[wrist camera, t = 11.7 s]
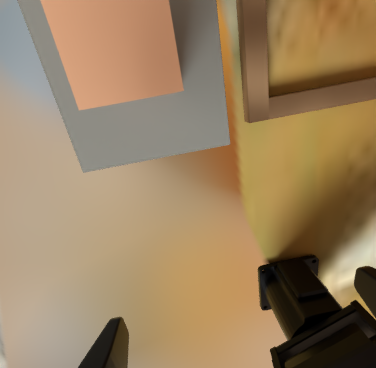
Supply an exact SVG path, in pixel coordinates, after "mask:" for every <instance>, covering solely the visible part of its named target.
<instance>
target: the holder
mask: <svg viewBox="0 0 376 368" xmlns="http://www.w3.org/2000/svg"><path fill="white" fill-rule="evenodd" d="M236 3H237V17H238V32H239V46H240V61H241V75H242V90H243V104H244V119H245V122H248V123H252V122H258V121H263V120H268V119H273V118H279V117H284V116H289V115H294V114H300V113H305V112H310V111H315V110H320V109H326V108H331V107H336V106H341V105H347V104H352V103H357V102H362V101H368V100H373V99H376V77H371V78H366V79H361V80H355V81H350V82H345V83H340V84H334V85H329V86H324V87H318V88H313V89H308V90H303V91H297V92H292V93H287V94H281V95H276V96H271V97H269V94H268V56H267V18H266V0H236Z"/></svg>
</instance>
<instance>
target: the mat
mask: <svg viewBox="0 0 376 368" xmlns="http://www.w3.org/2000/svg"><path fill="white" fill-rule="evenodd" d="M17 1H18V3H19V6H20V9H21V11H22V14H23V16H24V19H25V21H26V24H27V27H28V30H29V32H30V34H31V37H32V40H33V43H34V45H35V48H36V50H37V53H38V56H39V58H40V61H41V63H42V66H43V69H44V71H45V74H46V77H47V79H48V82H49V84H50V87H51V89H52V92H53V95H54V98H55V100H56V103H57V105H58V108H59V111H60V113H61V116H62V118H63V121H64V123H65V126H66V129H67V131H68V134H69V137H70V139H71V142H72V145H73V147H74V150H75V152H76V155H77V158H78V160H79V163H80V165H81V168H82V171H83V172H89V171H95V170H100V169H105V168H110V167H115V166H121V165H125V164H131V163H136V162H141V161H146V160H152V159H157V158H161V157H167V156H173V155H178V154H183V153H188V152H193V151H199V150H204V149H209V148H214V147H219V146H224V145H230V137H229V126H228V116H227V106H226V96H225V86H224V75H223V66H222V56H221V44H220V34H219V25H218V14H217V4H216V0H169V5H170V11H171V17H172V23H173V29H174V35H175V41H176V47H177V53H178V59H179V65H180V71H181V77H182V83H183V89H184V91H181V92H177V93H171V94H166V95H161V96H155V97H150V98H145V99H139V100H134V101H129V102H124V103H118V104H113V105H108V106H102V107H96V108H90V109H85V110H79V109H78V106H77V103H76V101H75V98H74V95H73V92H72V89H71V86H70V83H69V81H68V78H67V75H66V72H65V69H64V66H63V63H62V61H61V58H60V55H59V52H58V49H57V46H56V43H55V41H54V38H53V35H52V32H51V29H50V26H49V24H48V21H47V18H46V15H45V12H44V9H43V6H42V4H41V1H40V0H17Z"/></svg>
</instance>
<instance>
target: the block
mask: <svg viewBox="0 0 376 368" xmlns="http://www.w3.org/2000/svg"><path fill="white" fill-rule="evenodd" d="M40 1H41V4H42V6H43V9H44V12H45V15H46V18H47V21H48V24H49V26H50V29H51V32H52V35H53V38H54V41H55V43H56V46H57V49H58V52H59V55H60V58H61V61H62V63H63V66H64V69H65V72H66V75H67V78H68V81H69V83H70V86H71V89H72V92H73V95H74V98H75V101H76V103H77V106H78V109H79V110H85V109H90V108H96V107H102V106H108V105H113V104H118V103H124V102H129V101H134V100H139V99H145V98H150V97H155V96H161V95H166V94H171V93H177V92H181V91H184V89H183V83H182V77H181V71H180V65H179V59H178V53H177V47H176V41H175V35H174V29H173V23H172V17H171V11H170V5H169V0H40Z"/></svg>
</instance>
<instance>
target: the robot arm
mask: <svg viewBox="0 0 376 368" xmlns="http://www.w3.org/2000/svg"><path fill="white" fill-rule="evenodd" d="M318 263H319V259H318V258H317V257H316V256H315V255H310V256H305V257H301V258H296V259H291V260H286V261H281V262H276V263H271V264H266V265H262V266H260V267H259V268H258V281H259V297H260V307H261V309H262V310H269V309H272V310H273V312H274V314H275V316H276V318H277V320H278V322H279V324H280V327H281V329H282V330H283V333H284V334H285V336H286V339H287V341H286V342H284V343H283V344H281V345H279V346H277V347H273V348H271V349H270V352H271V356H272V362H273V366H274V368H376V320H375V319H374V318H373V317H372V316H371V315H370V314H369V313H368V312H367V311H366V310H365V309H364V308H363V307H362V306H361V305H360V303H359V302H358V301H357V300H354V301H353V302H351V303H350V305H348V306H347V307H345V308H342V307H341V306H340V304H339V303H338V302H337V301H336V300H335V298H334V297H333V296H332V295H331V294H330V292H329V291H328V289H327V288H326V286H325V285H324V284H323V283H322V282H321V280H320V279H319V278H318V277H317V276H318ZM262 270H263V271H262ZM354 286H355V289H356V290H357V292H358V293H359V295H360V296H361V298H362V299H363V301H364V302H365V303H366V305H367V306H368V308H369V309H370V311H371V312H372V313H373V315H374V316H375V318H376V269H375V268H373V267H370V266H364V267H359V268H357V270H356V274H355V280H354ZM128 344H129V333H128V329H127V327H126V324H125V322H124V320H123V318H122V317H116V318H112V319H110V320H109V322H108V323H107V325H106V326H105V328H104V329H103V331H102V332H101V334H100V335H99V337H98V338H97V340H96V341H95V343H94V344H93V346H92V347H91V349H90V350H89V352H88V353H87V355H86V356H85V358H84V359H83V361H82V362H81V364H80V365H79V367H78V368H127V365H128Z"/></svg>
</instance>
